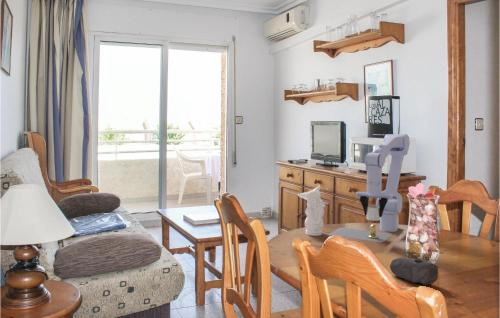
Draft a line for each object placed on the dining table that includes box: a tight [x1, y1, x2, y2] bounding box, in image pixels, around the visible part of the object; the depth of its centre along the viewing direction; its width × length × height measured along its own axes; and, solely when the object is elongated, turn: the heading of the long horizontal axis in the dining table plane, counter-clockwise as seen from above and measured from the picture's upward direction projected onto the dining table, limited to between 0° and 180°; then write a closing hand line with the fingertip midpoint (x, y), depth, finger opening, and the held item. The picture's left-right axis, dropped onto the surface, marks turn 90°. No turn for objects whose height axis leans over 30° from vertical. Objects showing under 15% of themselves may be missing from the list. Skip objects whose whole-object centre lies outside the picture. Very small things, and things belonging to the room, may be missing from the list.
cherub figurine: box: [297, 183, 326, 237], centre depth 185 cm, size 12×12×22 cm
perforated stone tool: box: [389, 257, 439, 286], centre depth 131 cm, size 15×5×7 cm, turn 36°
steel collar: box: [365, 205, 381, 222], centre depth 177 cm, size 5×5×5 cm
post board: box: [327, 224, 393, 243], centre depth 182 cm, size 16×23×6 cm
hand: (373, 215), depth 177 cm, fingers closed on steel collar, 5 cm apart
